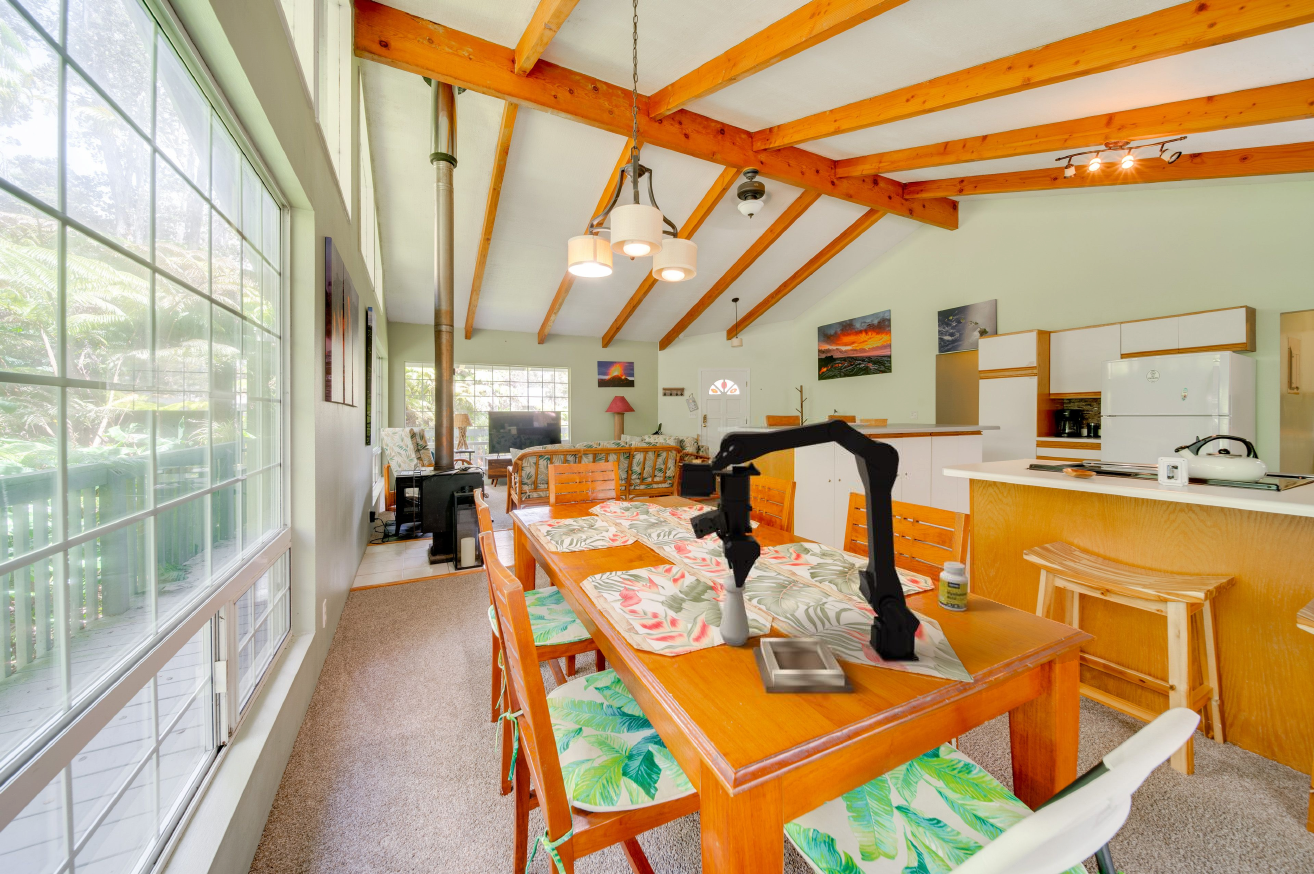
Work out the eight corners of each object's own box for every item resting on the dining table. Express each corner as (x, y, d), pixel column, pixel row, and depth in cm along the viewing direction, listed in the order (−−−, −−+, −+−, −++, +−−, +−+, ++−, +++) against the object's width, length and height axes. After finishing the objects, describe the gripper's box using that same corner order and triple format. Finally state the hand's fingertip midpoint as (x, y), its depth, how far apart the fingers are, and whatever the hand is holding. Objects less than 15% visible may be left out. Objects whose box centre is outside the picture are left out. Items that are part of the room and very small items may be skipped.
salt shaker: (749, 650, 89) (749, 584, 88) (718, 647, 91) (718, 582, 89) (749, 635, 95) (749, 572, 94) (720, 632, 96) (720, 571, 95)
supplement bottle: (944, 611, 104) (946, 568, 103) (934, 600, 109) (936, 559, 108) (971, 612, 103) (973, 569, 102) (959, 601, 108) (961, 560, 108)
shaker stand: (828, 652, 88) (828, 636, 88) (853, 692, 76) (853, 674, 76) (753, 652, 89) (753, 636, 88) (766, 692, 77) (766, 674, 77)
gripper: (690, 488, 99) (690, 561, 100) (695, 510, 80) (696, 598, 82) (743, 488, 99) (743, 560, 100) (761, 510, 80) (761, 598, 82)
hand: (735, 577), depth 91 cm, fingers open, 9 cm apart
